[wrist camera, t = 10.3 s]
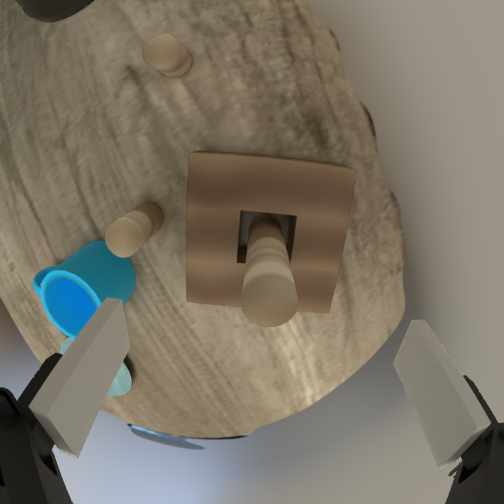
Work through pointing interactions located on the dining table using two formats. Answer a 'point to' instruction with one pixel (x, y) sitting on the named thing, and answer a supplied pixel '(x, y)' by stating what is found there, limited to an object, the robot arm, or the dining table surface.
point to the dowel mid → (133, 229)
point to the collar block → (268, 201)
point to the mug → (83, 285)
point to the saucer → (120, 381)
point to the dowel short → (167, 55)
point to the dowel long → (268, 275)
